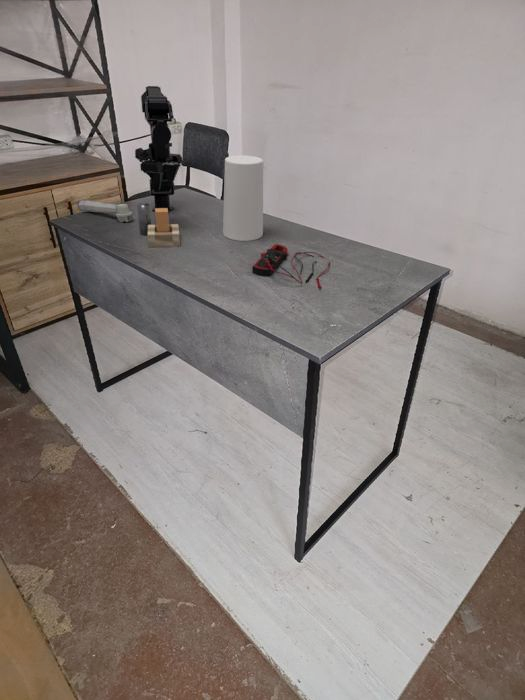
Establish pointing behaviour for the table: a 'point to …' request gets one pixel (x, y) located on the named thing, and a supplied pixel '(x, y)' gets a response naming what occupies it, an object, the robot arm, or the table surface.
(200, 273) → the table surface
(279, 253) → the digital clamp meter
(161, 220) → the square bit
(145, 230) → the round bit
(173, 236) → the socket block
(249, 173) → the cylinder
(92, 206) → the grey knobbed rod
